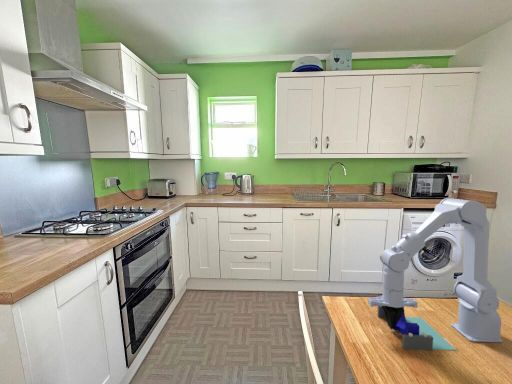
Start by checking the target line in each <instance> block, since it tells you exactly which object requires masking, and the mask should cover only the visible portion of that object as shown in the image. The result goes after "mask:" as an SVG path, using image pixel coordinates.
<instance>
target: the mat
mask: <svg viewBox="0 0 512 384" xmlns="http://www.w3.org/2000/svg"><path fill="white" fill-rule="evenodd" d="M405 318H406V321H407V322H408V323H417V324H418V325H419V335H423V333H425V334H427V335H431V336H432V337H433V350H434V351H436V350H439V351H443V350H444V351H457V349H456V348H455V347H454V346H452V344H450V342H448V341H447V340H446V339H445V338H444V337H443V336H442V335H441V334H439V332H438V331H436V330H435V329H434V327H432V326H431V325H430V324H429V323H428V322H427V320H425V319H424V318H422V316H421V317H420V316H419V317H418V316H415V317H412V316H411V317H410V316H405Z"/></svg>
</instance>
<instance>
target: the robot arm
mask: <svg viewBox="0 0 512 384" xmlns="http://www.w3.org/2000/svg"><path fill="white" fill-rule="evenodd" d="M447 224H459V225H461V226H462V227H464V228H463V229H464V231H463V232H464V233H463V234H464V235H463V259H462V260H463V266H462V274H461V275H458V276H457V277H456V282H455V284H454V285H453V293H454V295H455V296H456V297H457V301H458V316H457V323H455V322H453V323H452V322H450V327H452V328H454V329H455V330H456V331H458V333H460V335H462V336H464V337H465V339H467V340H468V341H469V342H481V343H503V342H504V341H503V339H502V338H501V331H502V330H501V328H502V320H501V319H502V318H501V316H500V314H499V313H498V311H497V310H498V309H499V307H500V299H499V298H498V295H497V289H496V288H495V287H494V285H493V284H492V283H491V282H490V280H488V270H489V269H488V268H489V266H488V265H489V264H488V263H489V239H490V235H489V234H490V222H489V219H488V217H487V206H485V205H484V204H482V203H481V202H480V201H477V200H468V199H460V198H454V197H446V198H443V199H442V200H440V202H439V203H438V204H436V205H435V206H434V211H433V212H432V213H431V214H430V215H429V216H428V217H427V218H426V219H425V220H424V221H423V222H422V224H421V225H420V226H419V227H418V228H417V229H416V230H415V231H413V232H407V233H403V234H402V235H401V238H400V239H399V240H398V241H397V242H396V243H395V244H394V245H391V246H390V248H385V250H383V251H382V253H381V255H379V259H380V262H381V263H382V264H383V265H382V268H383V269H382V295H379V296H376V297H375V296H374V297H368V298H367V303H368V306H370V308H374V307H375V306H377V307H378V306H382V308H383V310H384V312H385V315H386V318H385V319H386V322H387V326H388V328H390V330H394V329H395V328H396V325H397V323H398V321H399V319H400V318H401V316H402V315H403V314H405V307H412V308H414V309H417V308H418V301H417V300H415V299H414V298H409V297H404V287H405V286H404V282H405V271H406V270H408V268H409V267H410V262H411V261H412V258H413V257H414V256H415V255H417V254H418V253H419V252H420V251H421V250H422V249H423V248H425V246H426V241H425V240H427V239H428V238H429V237H431V236H432V235H433V234H435V233H436V232H437V231H438V230H440V229H441V228H442V227H444V226H445V225H447ZM402 307H404V309H403V308H402Z"/></svg>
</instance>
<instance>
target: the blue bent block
mask: <svg viewBox="0 0 512 384" xmlns="http://www.w3.org/2000/svg"><path fill="white" fill-rule="evenodd" d="M402 308H403V309H404V310H405V307H402ZM405 317H406V316H405V313H404V314H403V315H402V316H401V318H400V319H399V321H398V323H397V325H396V328H395V329H393V331H396V332H397V331H398V332H399V333H400V334H401V336H402V335H403V334H407V335H409V333H412V334H413V335H419V325H418V324H417V323H408V322H407V321H406V318H405Z"/></svg>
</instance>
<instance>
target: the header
mask: <svg viewBox="0 0 512 384" xmlns="http://www.w3.org/2000/svg"><path fill="white" fill-rule="evenodd" d="M376 317H378V318H383V319H384V318H385V319H386V315H385V312H384V310H383V308H382V306H377V316H376ZM401 336H402V337H401V338H402V340H401V348H402V349H403V350H404V351H426V352H427V351H428V352H429V351H430V352H431V351H433V350H434V349H433V337H432V336H431V335H427V334H425V333H423V335H413V334H412V333H409V335H407V334H403V335H402V334H401Z"/></svg>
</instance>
